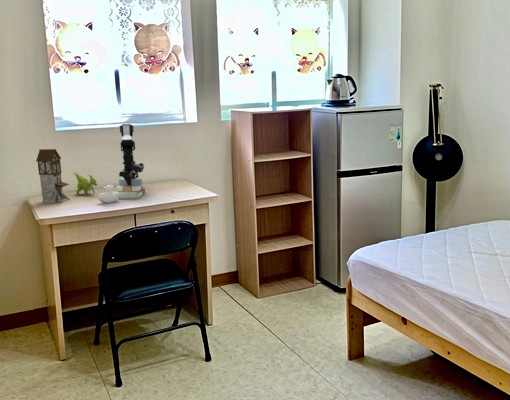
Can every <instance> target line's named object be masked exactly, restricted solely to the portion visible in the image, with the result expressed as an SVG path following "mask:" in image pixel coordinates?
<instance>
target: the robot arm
mask: <svg viewBox="0 0 510 400" xmlns="http://www.w3.org/2000/svg"><path fill="white" fill-rule="evenodd" d="M134 132H135V131H134V124H133V125H132V124H131V123H122V124H121V125H119V133H120V134H121V140H120V142H119V143H120V151H121V152H122V154H123V155H122V159H123V161H122V164H123V165H124V167H123V170H122V171H120V172H119V173H118V174H119V175H118V177H120V178H121V177H122V179H125V181H126V182H127V184H128V185H131V179H139V173H142V172H143V171H144V169H145V166H144V163H142V162H140V163H136V161H135V160H134V159H135V158H134V152H133V151H135V150H136V142H135V140H134V139H133V135H134Z"/></svg>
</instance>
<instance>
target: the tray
mask: <svg viewBox="0 0 510 400" xmlns="http://www.w3.org/2000/svg"><path fill="white" fill-rule="evenodd" d="M118 193H119V198H118V200H124V199H125V200H130V199H131V200H135V199H136V200H137V199H139V198H141V197H143V194H142V191H141V192H140V193H138V194H137V192H118Z"/></svg>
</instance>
